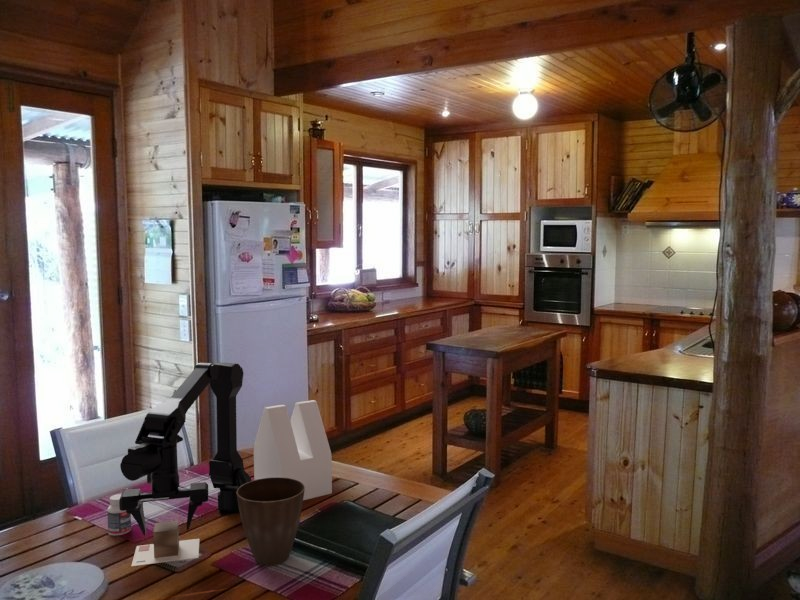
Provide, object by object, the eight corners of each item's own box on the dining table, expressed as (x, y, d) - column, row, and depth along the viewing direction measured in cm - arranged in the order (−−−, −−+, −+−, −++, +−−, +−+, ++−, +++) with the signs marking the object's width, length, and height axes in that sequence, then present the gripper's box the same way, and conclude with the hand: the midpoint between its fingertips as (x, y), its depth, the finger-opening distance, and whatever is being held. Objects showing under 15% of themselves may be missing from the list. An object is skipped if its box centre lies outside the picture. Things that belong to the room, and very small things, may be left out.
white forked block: (331, 493, 184) (330, 407, 182) (281, 506, 175) (280, 415, 173) (301, 474, 199) (300, 394, 197) (254, 484, 191) (252, 401, 189)
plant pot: (248, 542, 153) (246, 476, 152) (310, 543, 152) (309, 477, 151) (229, 574, 138) (227, 501, 137) (299, 574, 138) (297, 502, 136)
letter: (199, 539, 154) (199, 538, 154) (198, 558, 145) (198, 557, 145) (136, 547, 151) (136, 545, 151) (131, 567, 141) (131, 565, 141)
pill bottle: (122, 537, 156) (121, 501, 155) (103, 535, 157) (102, 500, 156) (135, 528, 161) (134, 493, 160) (117, 526, 162) (115, 492, 161)
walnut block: (179, 545, 151) (178, 520, 150) (177, 555, 146) (176, 529, 145) (156, 548, 149) (155, 523, 149) (154, 558, 145) (153, 532, 144)
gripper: (207, 451, 156) (209, 513, 158) (124, 458, 151) (127, 522, 153) (207, 466, 146) (209, 533, 147) (117, 474, 141) (120, 543, 142)
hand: (166, 532), depth 147 cm, fingers open, 9 cm apart
